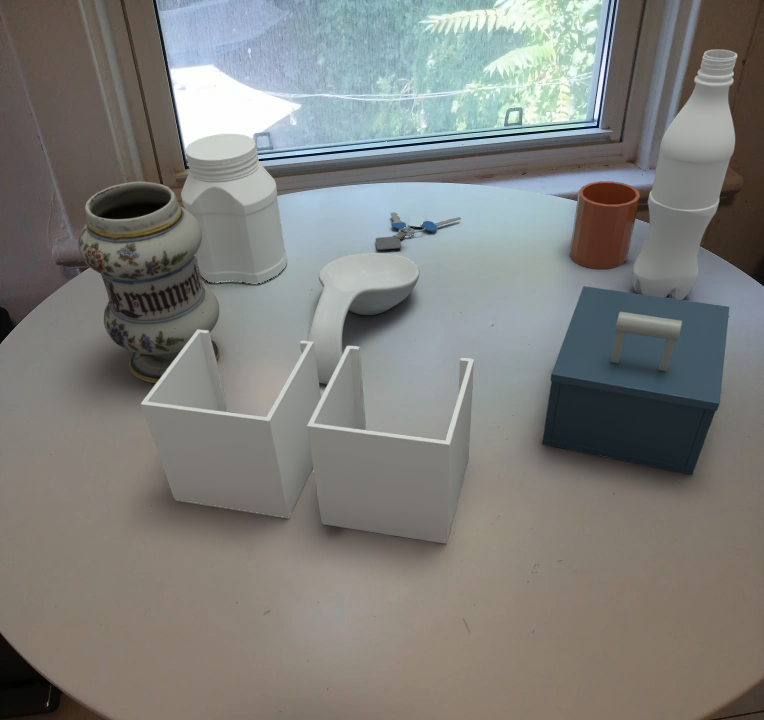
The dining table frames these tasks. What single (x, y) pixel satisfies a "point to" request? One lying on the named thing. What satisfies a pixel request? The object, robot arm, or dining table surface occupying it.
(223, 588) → the dining table surface
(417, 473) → the white double open bin
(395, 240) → the key chain
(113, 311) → the apothecary jar
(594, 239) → the cup
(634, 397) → the dark blue box base
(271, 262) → the jar
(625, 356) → the lid
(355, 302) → the spoon rest
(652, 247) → the water bottle
